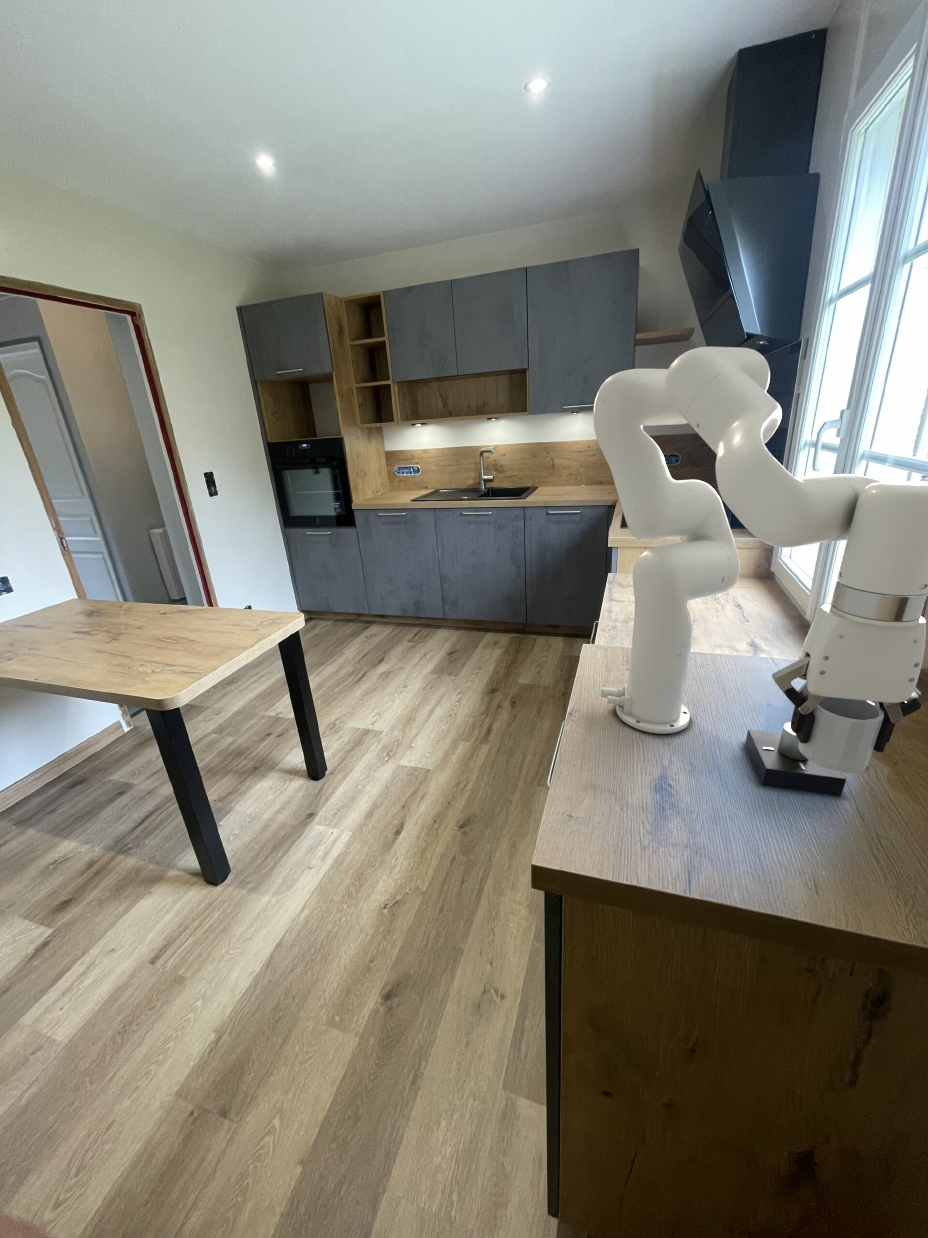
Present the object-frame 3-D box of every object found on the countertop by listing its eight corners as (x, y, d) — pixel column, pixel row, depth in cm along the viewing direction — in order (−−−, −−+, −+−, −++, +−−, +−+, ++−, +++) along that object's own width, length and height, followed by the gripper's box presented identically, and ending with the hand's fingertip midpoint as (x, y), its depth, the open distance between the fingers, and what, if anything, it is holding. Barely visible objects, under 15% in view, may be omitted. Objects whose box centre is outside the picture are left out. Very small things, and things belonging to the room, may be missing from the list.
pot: (809, 768, 57) (824, 717, 54) (790, 735, 63) (802, 688, 60) (878, 777, 55) (896, 725, 53) (851, 742, 61) (866, 694, 59)
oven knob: (783, 758, 72) (789, 734, 70) (774, 742, 75) (780, 718, 74) (813, 762, 71) (821, 737, 69) (803, 746, 74) (810, 722, 73)
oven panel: (762, 785, 71) (766, 767, 70) (744, 744, 80) (748, 728, 79) (841, 796, 68) (847, 778, 67) (814, 753, 77) (818, 736, 76)
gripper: (953, 594, 53) (905, 732, 59) (773, 587, 57) (747, 715, 64) (1003, 619, 46) (942, 771, 53) (795, 608, 51) (763, 749, 57)
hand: (835, 740), depth 58 cm, fingers closed on pot, 6 cm apart
